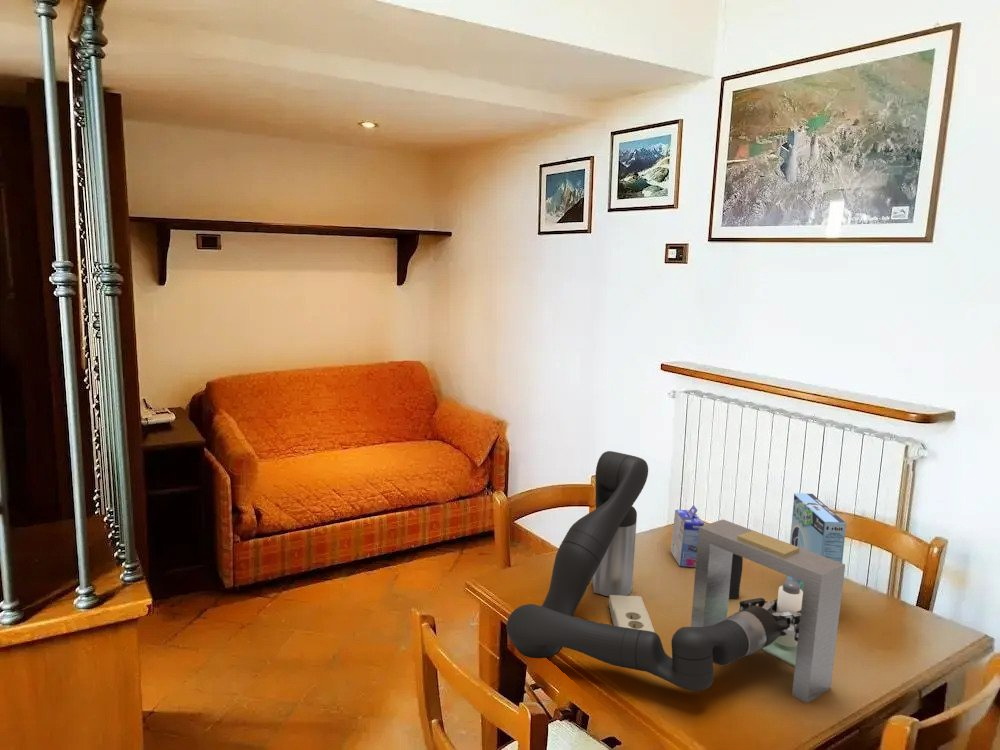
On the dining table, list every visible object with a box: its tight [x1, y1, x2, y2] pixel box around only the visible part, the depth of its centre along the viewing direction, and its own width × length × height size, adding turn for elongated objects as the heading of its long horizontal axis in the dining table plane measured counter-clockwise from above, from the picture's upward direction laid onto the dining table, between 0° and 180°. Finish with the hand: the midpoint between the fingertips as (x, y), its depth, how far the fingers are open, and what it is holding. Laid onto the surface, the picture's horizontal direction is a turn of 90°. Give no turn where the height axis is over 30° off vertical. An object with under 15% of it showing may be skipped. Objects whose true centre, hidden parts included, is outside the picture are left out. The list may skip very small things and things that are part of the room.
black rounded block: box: [729, 553, 744, 599], centre depth 165 cm, size 7×4×11 cm, turn 87°
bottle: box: [775, 579, 803, 647], centre depth 143 cm, size 5×5×12 cm
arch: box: [690, 519, 846, 705], centre depth 136 cm, size 8×26×25 cm, turn 37°
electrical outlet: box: [608, 595, 656, 633], centre depth 150 cm, size 7×4×18 cm
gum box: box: [786, 492, 847, 591], centre depth 163 cm, size 20×5×23 cm, turn 176°
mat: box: [761, 641, 797, 667], centre depth 144 cm, size 10×10×1 cm
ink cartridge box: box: [670, 505, 705, 568], centre depth 184 cm, size 10×6×14 cm, turn 0°
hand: (796, 607), depth 145 cm, fingers closed on bottle, 4 cm apart
